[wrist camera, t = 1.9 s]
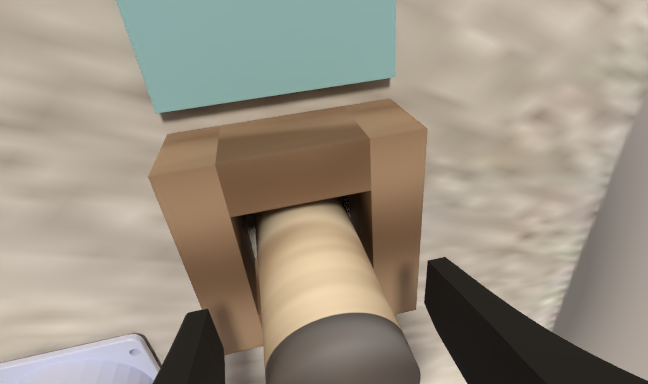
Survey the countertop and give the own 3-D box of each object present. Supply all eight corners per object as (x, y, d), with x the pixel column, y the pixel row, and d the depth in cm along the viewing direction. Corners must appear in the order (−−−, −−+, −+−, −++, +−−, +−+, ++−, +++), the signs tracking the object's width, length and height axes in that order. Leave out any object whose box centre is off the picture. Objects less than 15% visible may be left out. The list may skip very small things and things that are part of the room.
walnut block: (389, 259, 20) (416, 309, 17) (223, 295, 19) (220, 355, 16) (390, 98, 15) (427, 128, 12) (167, 134, 14) (148, 176, 11)
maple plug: (342, 232, 18) (417, 417, 10) (263, 248, 18) (281, 455, 10) (336, 162, 16) (424, 330, 8) (246, 178, 15) (253, 371, 8)
